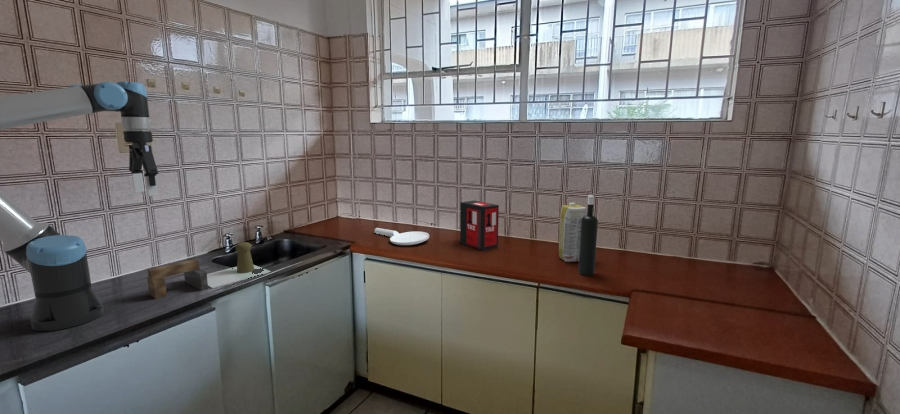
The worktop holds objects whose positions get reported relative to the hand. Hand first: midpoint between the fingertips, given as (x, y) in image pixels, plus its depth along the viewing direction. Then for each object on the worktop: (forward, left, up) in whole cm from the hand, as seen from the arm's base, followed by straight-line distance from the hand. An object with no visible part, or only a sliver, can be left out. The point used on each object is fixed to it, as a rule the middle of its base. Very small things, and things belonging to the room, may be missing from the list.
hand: (146, 193), depth 139 cm
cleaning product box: (+110, -64, -32) cm, 131 cm away
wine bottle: (+102, -118, -32) cm, 159 cm away
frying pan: (+95, -26, -32) cm, 104 cm away
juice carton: (+115, -107, -32) cm, 160 cm away
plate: (+19, -14, -32) cm, 40 cm away
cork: (+24, -14, -31) cm, 42 cm away
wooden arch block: (+1, -14, -32) cm, 35 cm away
